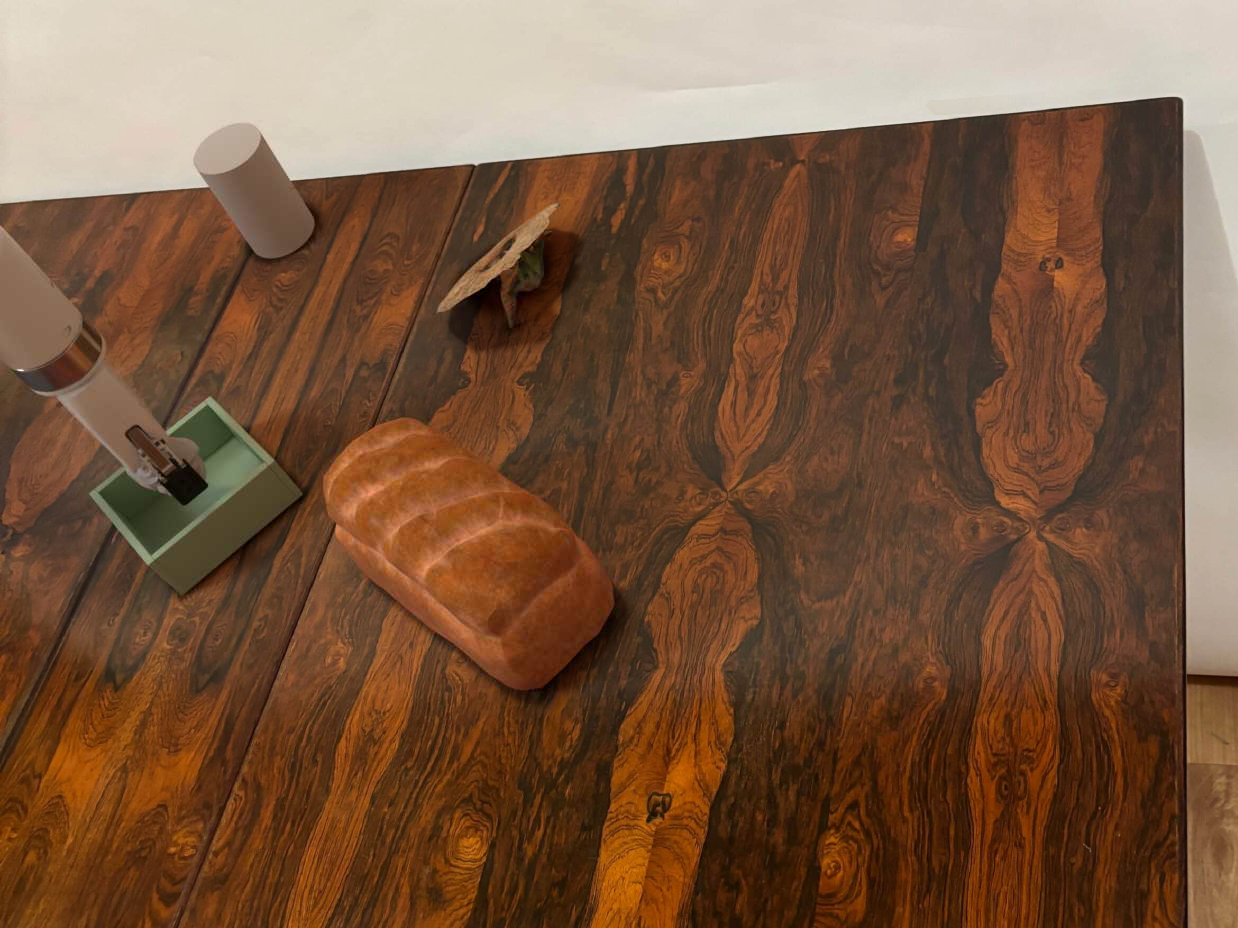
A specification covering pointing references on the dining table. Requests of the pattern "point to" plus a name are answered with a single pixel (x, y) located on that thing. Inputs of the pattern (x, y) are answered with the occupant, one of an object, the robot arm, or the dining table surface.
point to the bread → (467, 551)
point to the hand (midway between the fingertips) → (178, 476)
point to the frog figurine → (179, 447)
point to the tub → (200, 501)
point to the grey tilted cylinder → (254, 190)
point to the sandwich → (507, 266)
